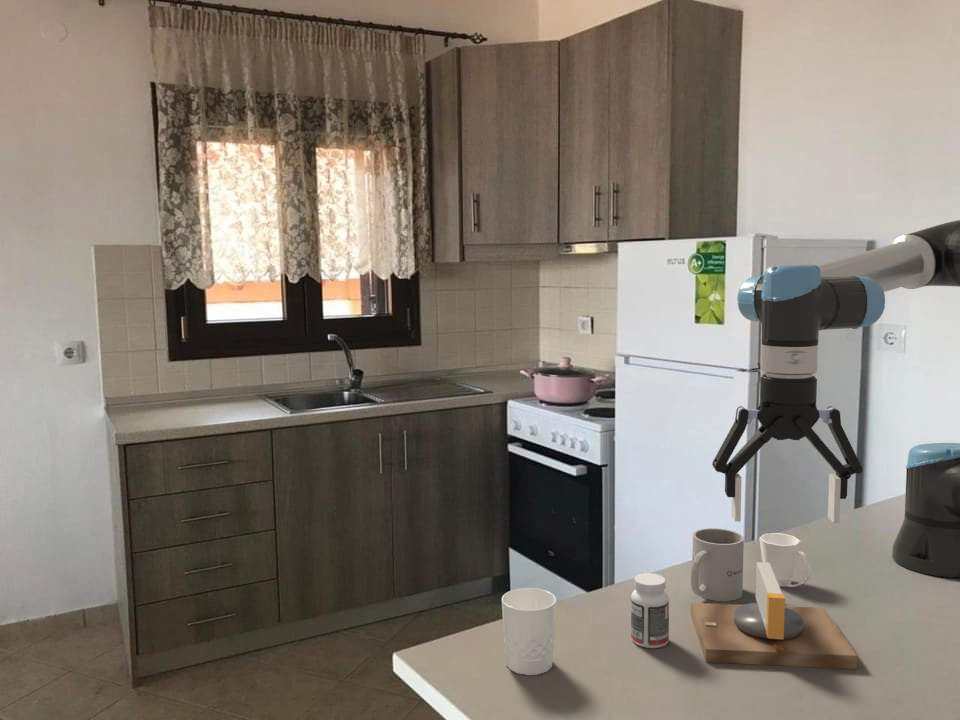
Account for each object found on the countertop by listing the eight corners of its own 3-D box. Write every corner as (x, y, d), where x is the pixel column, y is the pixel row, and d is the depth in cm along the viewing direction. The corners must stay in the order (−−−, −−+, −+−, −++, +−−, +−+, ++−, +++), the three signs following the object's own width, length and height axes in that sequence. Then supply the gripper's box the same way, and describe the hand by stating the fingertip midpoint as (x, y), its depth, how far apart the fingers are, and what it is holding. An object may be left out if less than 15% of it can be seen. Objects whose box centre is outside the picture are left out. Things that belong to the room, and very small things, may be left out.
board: (823, 619, 130) (823, 606, 130) (857, 669, 114) (857, 654, 114) (690, 614, 133) (690, 601, 133) (705, 662, 117) (706, 647, 117)
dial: (729, 602, 131) (730, 559, 130) (794, 607, 129) (796, 563, 128) (739, 643, 117) (740, 595, 116) (812, 649, 115) (813, 600, 114)
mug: (714, 577, 148) (715, 525, 147) (752, 593, 141) (754, 538, 140) (666, 593, 141) (667, 538, 140) (704, 610, 134) (706, 552, 133)
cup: (776, 571, 150) (777, 530, 149) (822, 590, 142) (823, 546, 141) (749, 579, 147) (750, 536, 146) (795, 598, 138) (796, 553, 137)
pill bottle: (670, 635, 126) (671, 574, 124) (666, 652, 120) (667, 588, 119) (633, 630, 127) (634, 570, 126) (628, 646, 122) (628, 583, 121)
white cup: (540, 683, 112) (540, 614, 111) (492, 669, 116) (491, 602, 115) (565, 659, 118) (565, 594, 117) (519, 646, 123) (518, 583, 121)
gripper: (702, 378, 112) (700, 526, 114) (891, 378, 109) (884, 529, 111) (694, 371, 119) (692, 509, 122) (871, 370, 116) (865, 512, 119)
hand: (784, 519), depth 116 cm, fingers open, 13 cm apart
